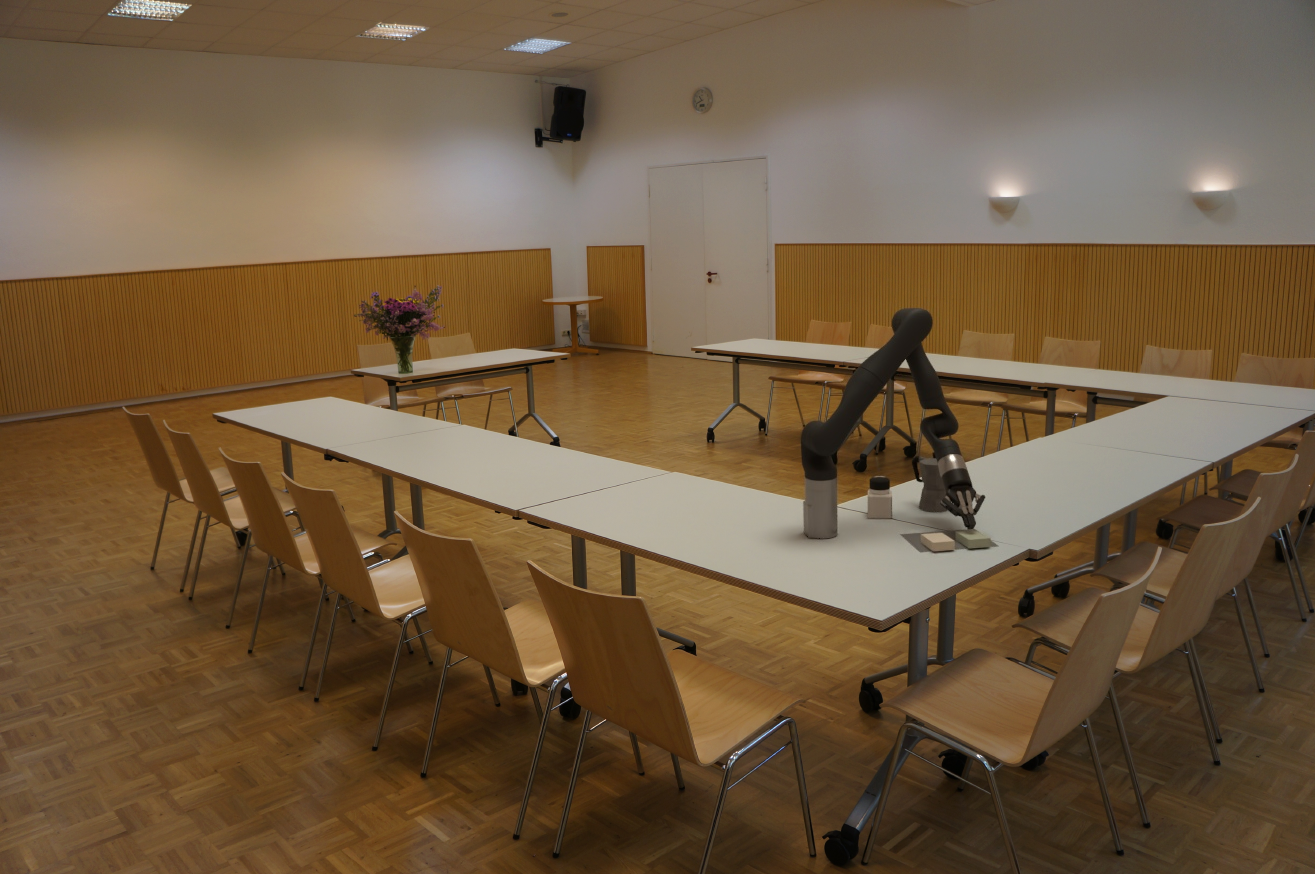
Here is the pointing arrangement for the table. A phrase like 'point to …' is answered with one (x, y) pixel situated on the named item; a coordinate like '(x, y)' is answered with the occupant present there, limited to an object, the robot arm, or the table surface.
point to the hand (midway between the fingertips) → (971, 527)
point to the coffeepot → (930, 484)
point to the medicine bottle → (880, 498)
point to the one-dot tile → (973, 539)
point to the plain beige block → (937, 542)
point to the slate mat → (916, 537)
